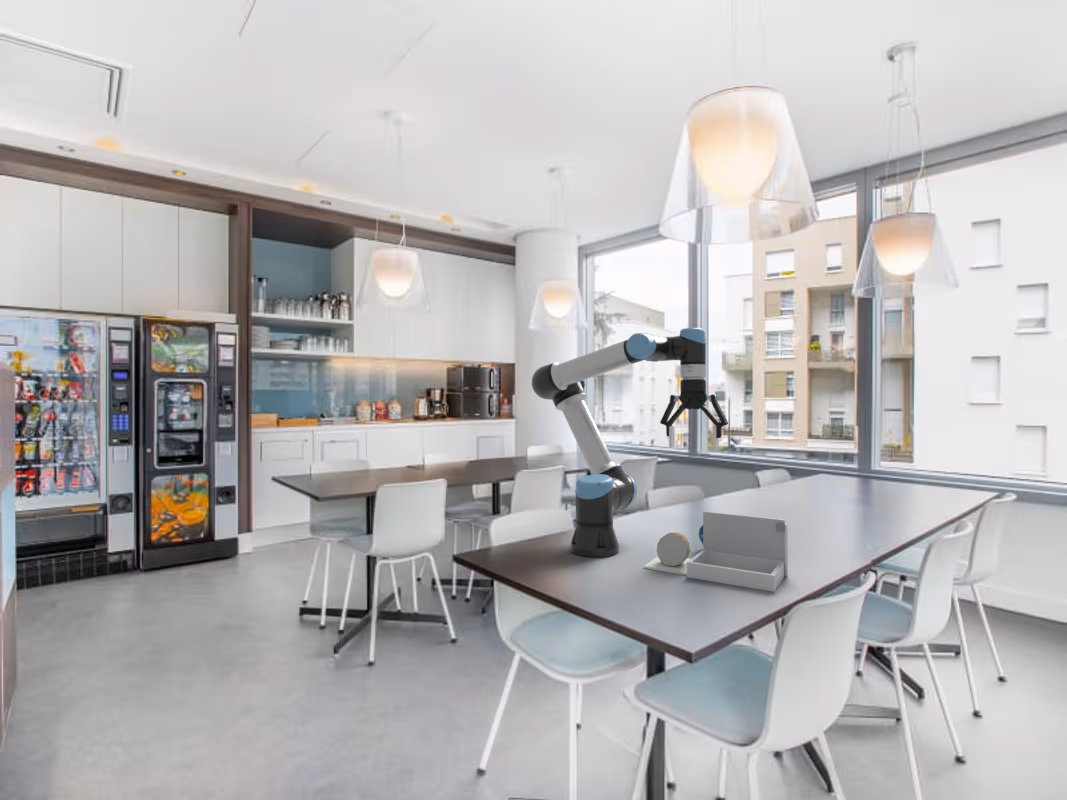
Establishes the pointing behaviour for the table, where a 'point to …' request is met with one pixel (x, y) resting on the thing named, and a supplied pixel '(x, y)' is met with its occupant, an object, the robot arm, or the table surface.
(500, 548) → the table surface
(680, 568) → the mat
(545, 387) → the robot arm
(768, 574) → the case
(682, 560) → the coral
